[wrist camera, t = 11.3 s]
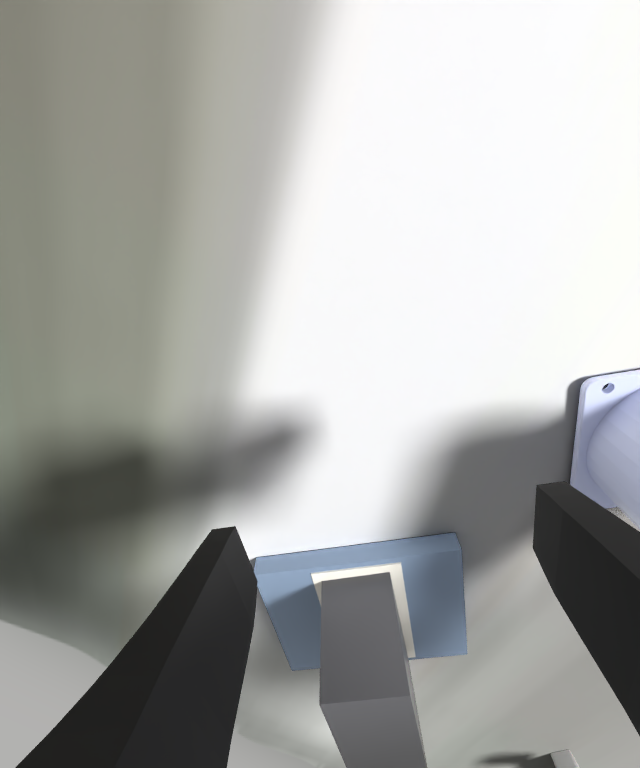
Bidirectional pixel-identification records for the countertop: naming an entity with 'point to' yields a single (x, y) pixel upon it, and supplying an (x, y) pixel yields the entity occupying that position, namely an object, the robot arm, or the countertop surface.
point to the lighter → (564, 759)
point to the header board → (399, 557)
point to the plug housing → (367, 675)
